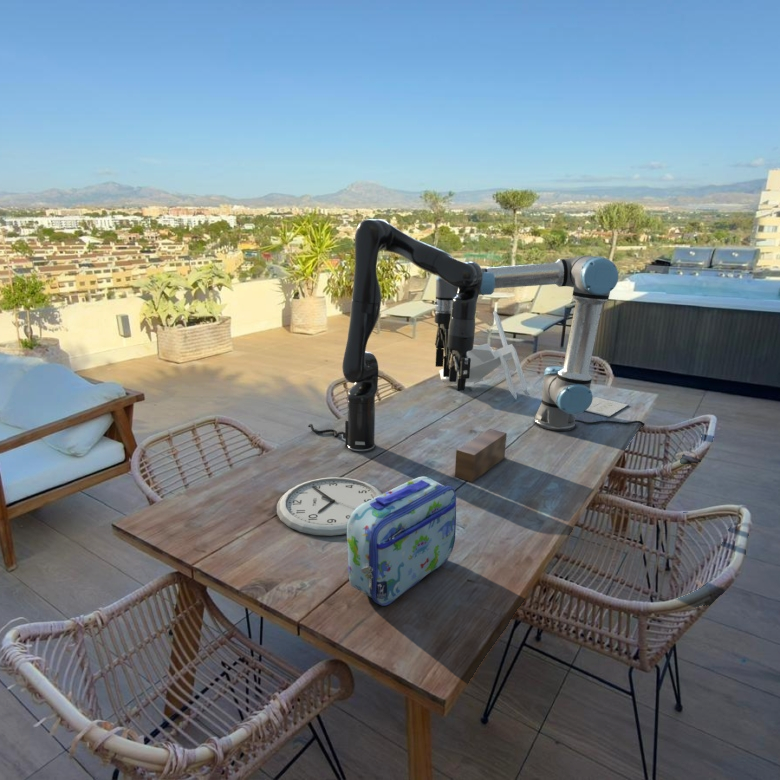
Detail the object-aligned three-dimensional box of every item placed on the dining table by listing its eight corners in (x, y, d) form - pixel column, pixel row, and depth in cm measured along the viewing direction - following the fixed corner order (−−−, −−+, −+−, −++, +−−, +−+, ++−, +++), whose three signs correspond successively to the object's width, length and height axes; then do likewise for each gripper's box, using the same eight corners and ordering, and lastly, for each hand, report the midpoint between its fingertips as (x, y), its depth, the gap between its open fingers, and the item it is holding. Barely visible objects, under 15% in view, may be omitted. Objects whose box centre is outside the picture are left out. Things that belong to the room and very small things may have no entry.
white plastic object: (461, 429, 252) (437, 405, 227) (444, 352, 274) (420, 323, 250) (535, 404, 240) (518, 377, 215) (510, 326, 262) (492, 293, 237)
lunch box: (376, 619, 101) (377, 524, 95) (340, 592, 109) (339, 502, 102) (459, 562, 119) (465, 479, 113) (424, 542, 126) (427, 463, 120)
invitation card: (608, 416, 214) (573, 407, 224) (608, 416, 214) (573, 408, 224) (628, 404, 229) (594, 396, 238) (628, 405, 229) (594, 397, 238)
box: (487, 452, 178) (489, 428, 175) (504, 457, 174) (506, 432, 172) (454, 476, 161) (456, 449, 158) (472, 482, 157) (474, 455, 155)
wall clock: (392, 527, 129) (268, 531, 127) (391, 533, 130) (269, 537, 127) (383, 473, 158) (282, 475, 155) (383, 478, 158) (282, 480, 156)
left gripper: (442, 327, 157) (438, 378, 163) (456, 338, 144) (450, 393, 149) (466, 327, 159) (461, 378, 164) (481, 338, 145) (476, 393, 151)
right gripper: (428, 306, 190) (426, 362, 197) (442, 317, 167) (439, 381, 173) (448, 306, 191) (446, 362, 198) (465, 317, 168) (461, 381, 174)
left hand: (456, 385), depth 157 cm, fingers open, 8 cm apart
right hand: (443, 371), depth 185 cm, fingers open, 13 cm apart
